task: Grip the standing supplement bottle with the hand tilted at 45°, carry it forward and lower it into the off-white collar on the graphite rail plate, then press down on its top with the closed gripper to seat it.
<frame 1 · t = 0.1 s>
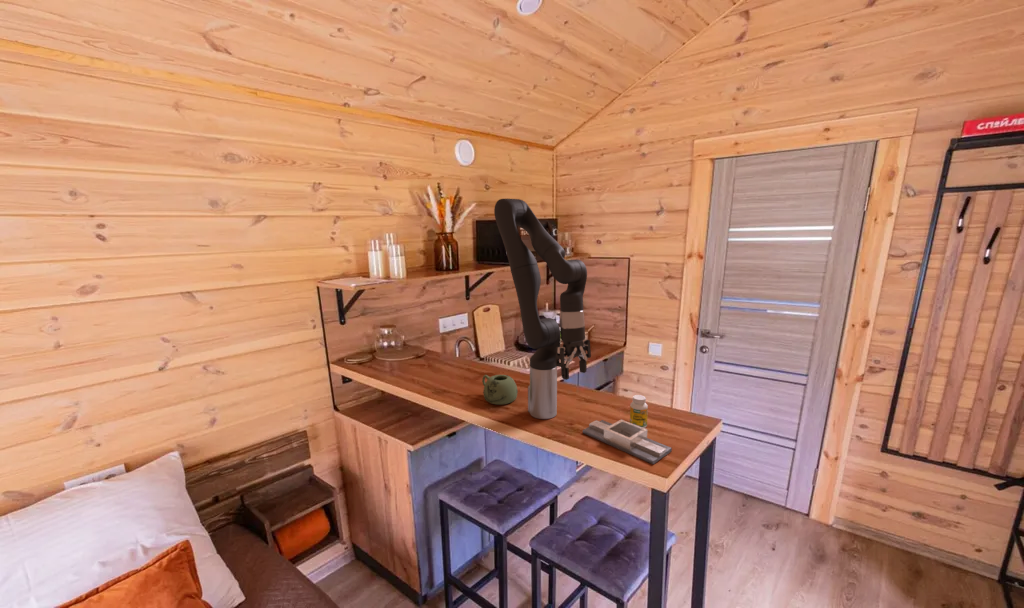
hand: (574, 375, 130), 17 cm above the breakfast bar, tool pointing down, fingers open, 8 cm apart
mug: (497, 398, 157), on the breakfast bar
rail collar: (625, 441, 124), on the breakfast bar
supplement bottle: (638, 425, 134), on the breakfast bar
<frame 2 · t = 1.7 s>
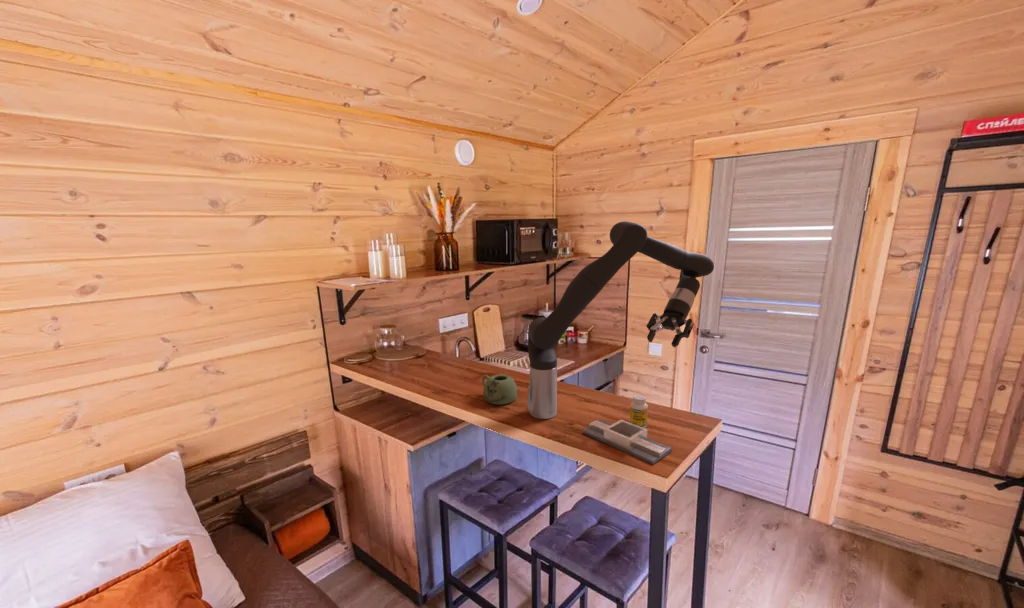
hand: (661, 343, 136), 25 cm above the breakfast bar, tool tilted 45°, fingers open, 8 cm apart
nothing on the breakfast bar moved.
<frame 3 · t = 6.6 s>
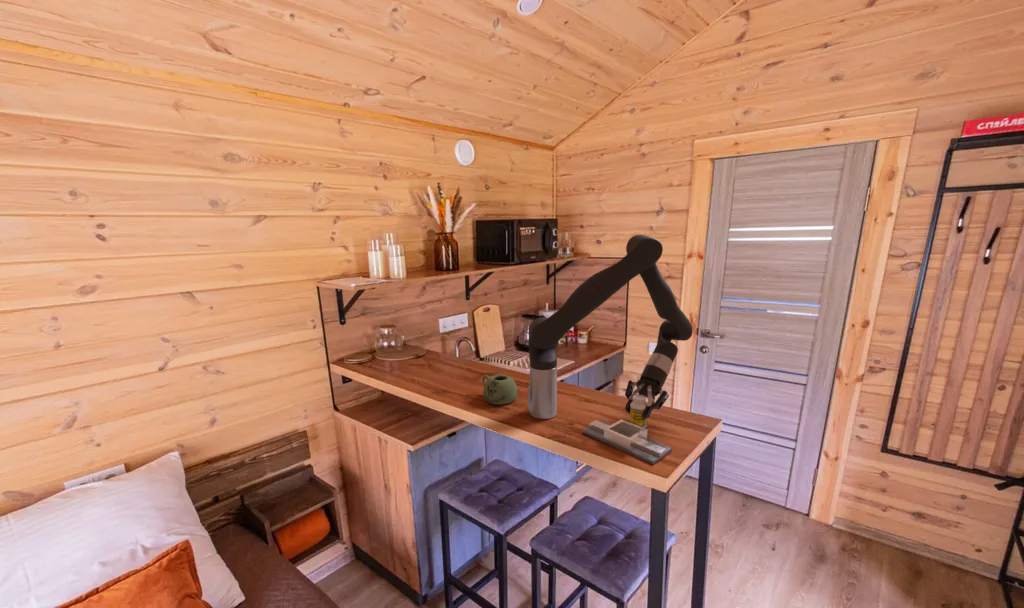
hand: (635, 414, 132), 4 cm above the breakfast bar, tool tilted 45°, fingers closed on supplement bottle, 5 cm apart
supplement bottle: (638, 425, 134), on the breakfast bar, touching gripper
everything else where it was.
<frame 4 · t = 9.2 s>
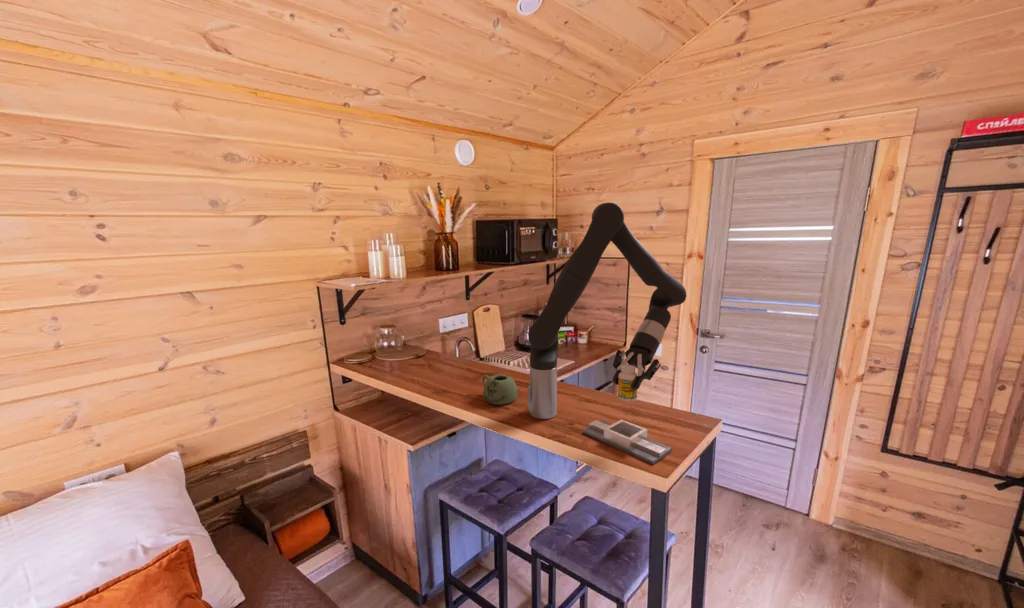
hand: (624, 385, 120), 18 cm above the breakfast bar, tool tilted 45°, fingers closed on supplement bottle, 5 cm apart
supplement bottle: (627, 398, 122), point 13 cm above the breakfast bar, touching gripper
everything else where it was.
when the fingers open (7 cm above the breakfast bar, at t = 11.9 s): supplement bottle drops 1 cm, resting on rail collar.
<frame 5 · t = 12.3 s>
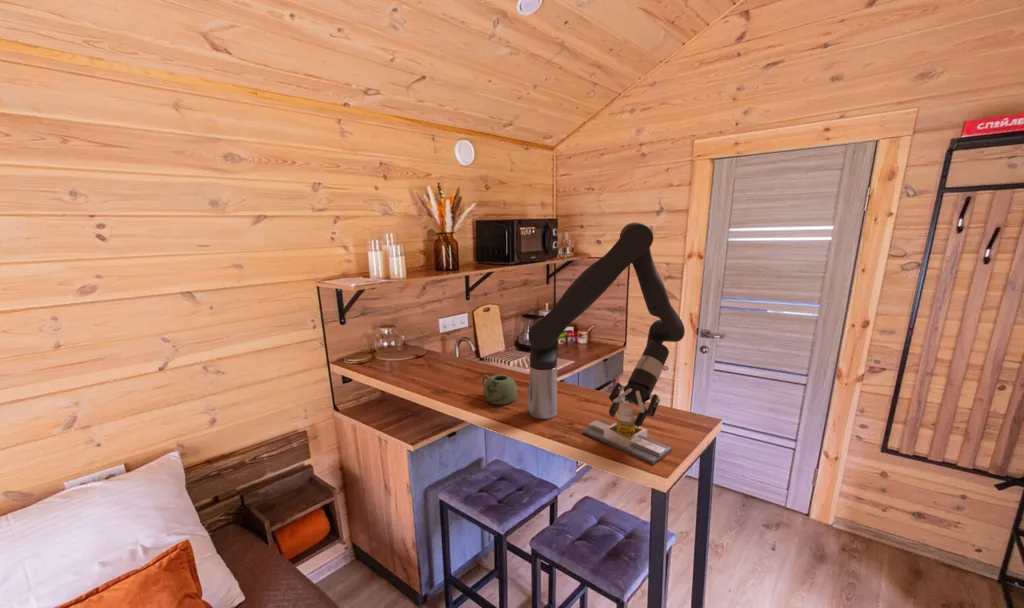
hand: (623, 420, 122), 7 cm above the breakfast bar, tool tilted 45°, fingers open, 8 cm apart
supplement bottle: (625, 438, 124), point 1 cm above the breakfast bar, touching rail collar
everything else where it was.
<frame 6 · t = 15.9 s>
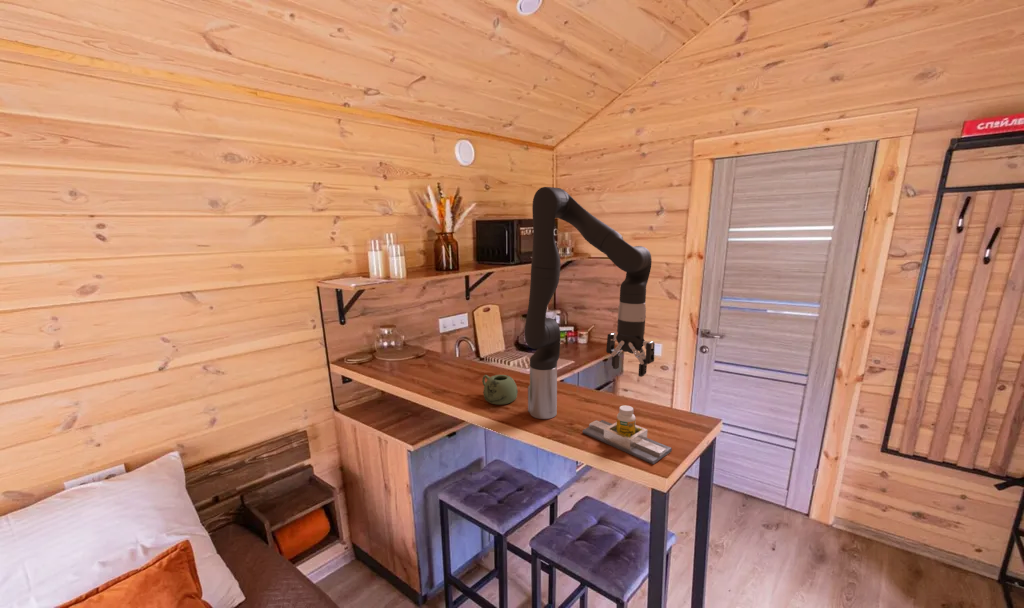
hand: (628, 372, 120), 22 cm above the breakfast bar, tool pointing down, fingers open, 8 cm apart
nothing on the breakfast bar moved.
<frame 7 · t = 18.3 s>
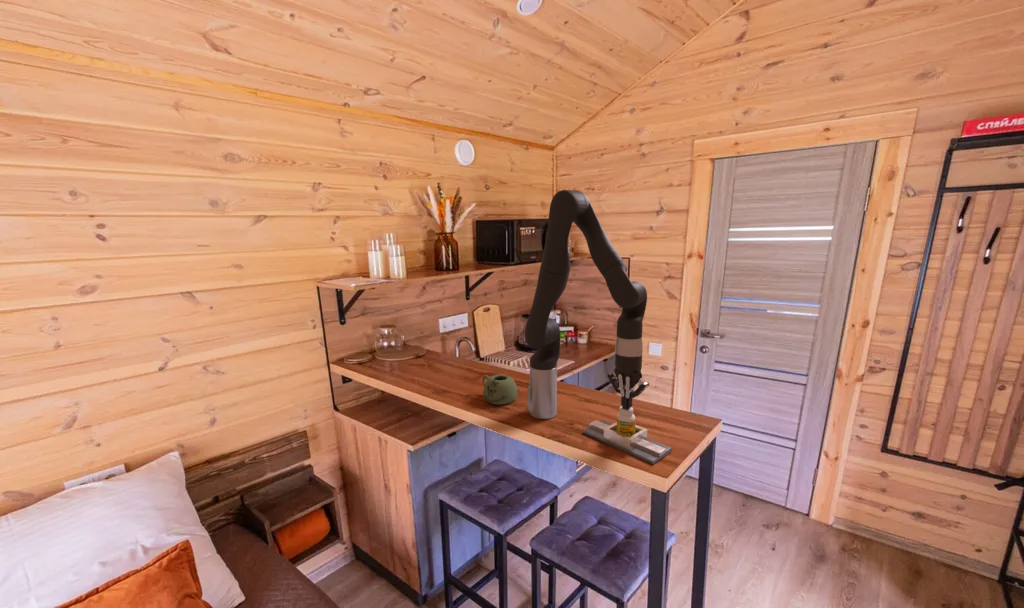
hand: (626, 408, 122), 11 cm above the breakfast bar, tool pointing down, fingers closed
supplement bottle: (625, 438, 124), point 1 cm above the breakfast bar, touching gripper, rail collar
everything else where it was.
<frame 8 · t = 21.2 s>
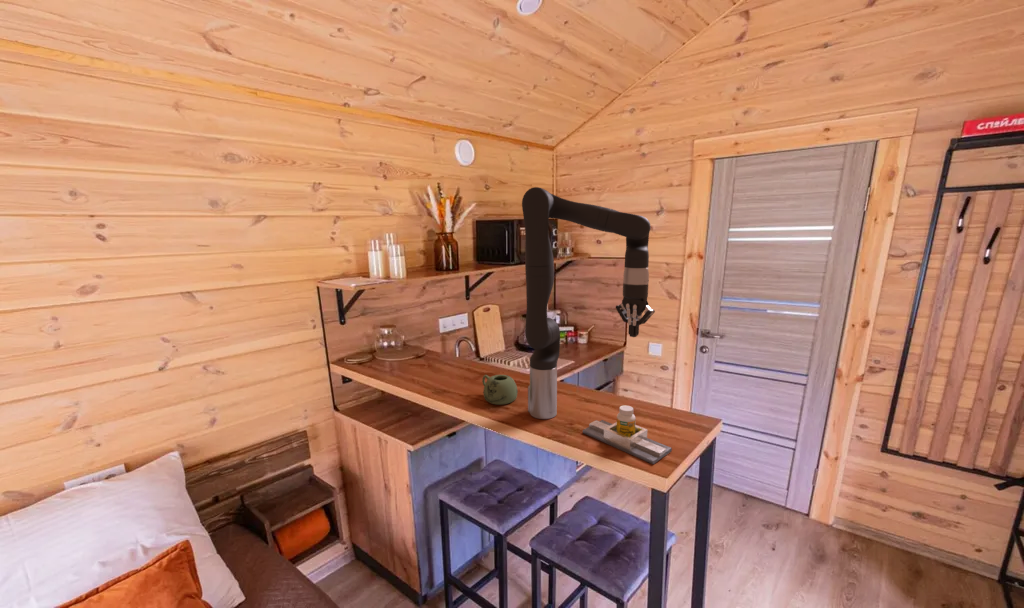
hand: (633, 336, 131), 29 cm above the breakfast bar, tool pointing down, fingers closed
supplement bottle: (625, 438, 124), point 1 cm above the breakfast bar, touching rail collar
everything else where it was.
at the end: supplement bottle 0.2 cm off-centre on the rail collar, point 0.8 cm above the rail collar's base; supplement bottle tilted 0°; the gripper is holding nothing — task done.
